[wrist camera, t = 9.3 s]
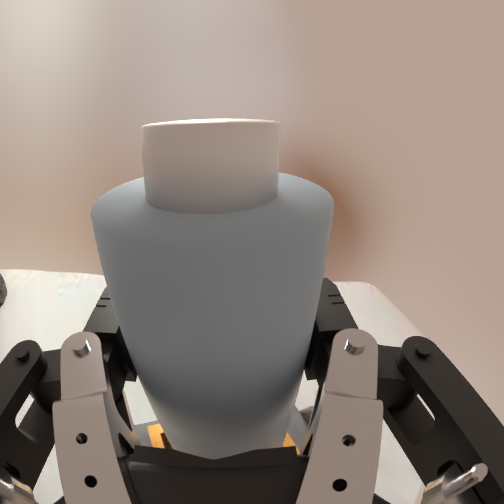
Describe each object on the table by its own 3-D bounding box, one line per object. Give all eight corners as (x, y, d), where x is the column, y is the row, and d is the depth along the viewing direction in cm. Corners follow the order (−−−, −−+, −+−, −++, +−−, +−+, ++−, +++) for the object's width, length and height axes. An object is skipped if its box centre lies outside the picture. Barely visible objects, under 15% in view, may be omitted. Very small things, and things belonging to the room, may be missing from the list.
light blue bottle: (196, 502, 9) (51, 152, 2) (165, 418, 14) (94, 129, 7) (299, 465, 11) (400, 139, 5) (254, 392, 16) (266, 117, 9)
